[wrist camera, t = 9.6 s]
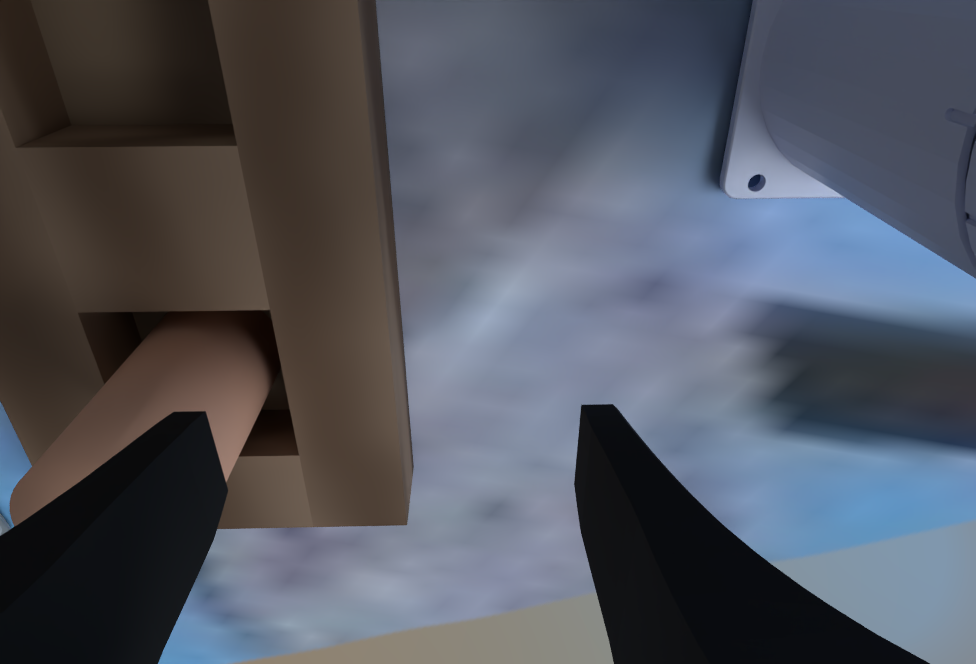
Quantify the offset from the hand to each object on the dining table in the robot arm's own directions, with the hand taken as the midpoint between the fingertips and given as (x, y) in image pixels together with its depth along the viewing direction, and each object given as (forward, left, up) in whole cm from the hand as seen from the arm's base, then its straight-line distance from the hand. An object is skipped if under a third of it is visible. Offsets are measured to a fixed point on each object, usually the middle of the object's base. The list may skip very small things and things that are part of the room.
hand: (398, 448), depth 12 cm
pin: (+7, +3, -9) cm, 12 cm away
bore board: (+7, -2, -9) cm, 12 cm away
